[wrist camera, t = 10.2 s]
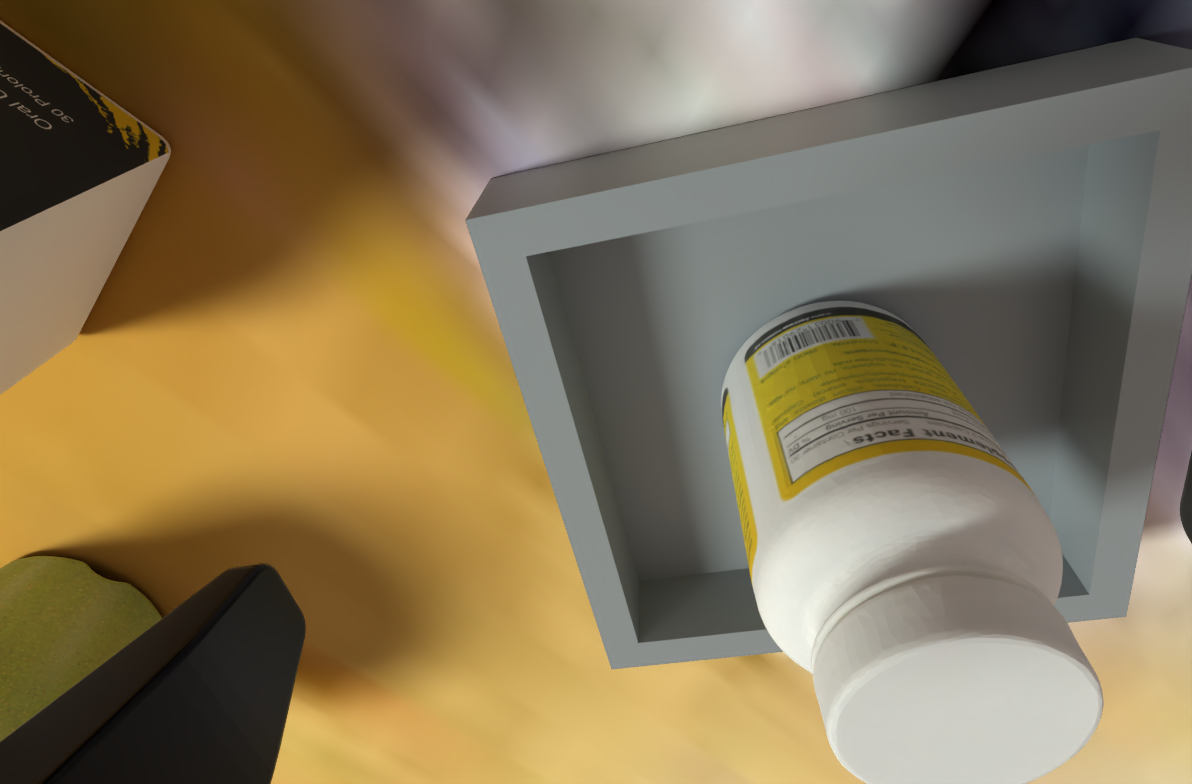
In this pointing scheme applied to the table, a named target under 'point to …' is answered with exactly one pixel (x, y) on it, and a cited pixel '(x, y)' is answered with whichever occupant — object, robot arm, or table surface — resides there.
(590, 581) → the slate tray
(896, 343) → the supplement bottle
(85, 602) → the plant pot
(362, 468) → the table surface
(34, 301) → the medicine bottle
